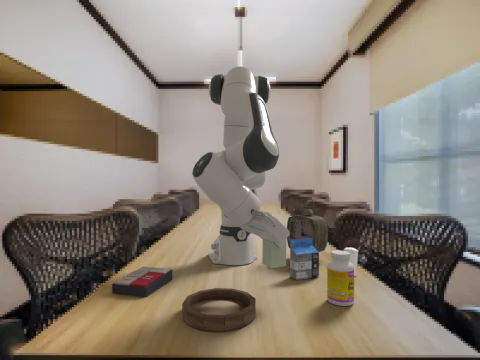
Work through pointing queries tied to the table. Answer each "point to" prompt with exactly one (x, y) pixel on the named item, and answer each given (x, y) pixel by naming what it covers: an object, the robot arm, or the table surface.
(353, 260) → the milkshake
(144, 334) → the table surface
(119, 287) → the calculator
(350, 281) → the supplement bottle
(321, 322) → the table surface
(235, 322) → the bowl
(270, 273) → the table surface
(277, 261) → the block
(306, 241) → the label tape cartridge
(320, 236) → the tabletop clock
